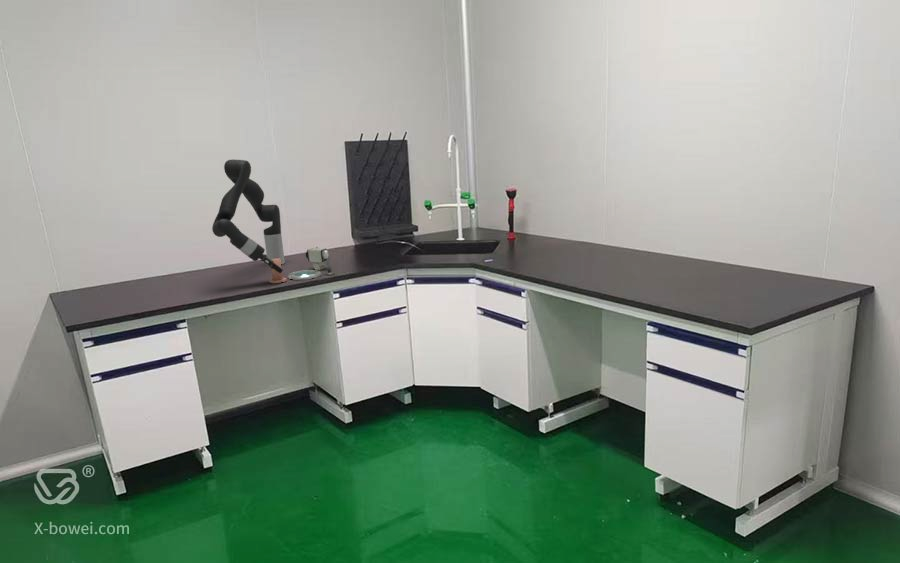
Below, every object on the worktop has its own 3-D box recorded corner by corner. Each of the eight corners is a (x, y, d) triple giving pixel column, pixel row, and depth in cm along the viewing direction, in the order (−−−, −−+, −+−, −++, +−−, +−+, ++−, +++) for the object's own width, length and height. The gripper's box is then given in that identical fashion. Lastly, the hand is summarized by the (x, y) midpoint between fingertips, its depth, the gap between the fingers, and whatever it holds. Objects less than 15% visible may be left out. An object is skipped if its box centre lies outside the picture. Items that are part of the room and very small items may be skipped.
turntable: (282, 277, 291) (282, 273, 291) (311, 271, 301) (311, 268, 300) (296, 282, 279) (296, 278, 279) (326, 275, 289) (326, 272, 288)
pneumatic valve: (326, 270, 300) (323, 248, 297) (307, 270, 304) (304, 247, 301) (331, 268, 305) (329, 246, 302) (313, 267, 309) (310, 245, 306)
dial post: (323, 274, 292) (321, 249, 289) (331, 272, 295) (329, 248, 292) (328, 275, 289) (325, 250, 286) (335, 274, 292) (333, 249, 289)
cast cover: (266, 281, 282) (264, 259, 279) (282, 278, 287) (279, 256, 284) (273, 284, 276) (270, 262, 273) (289, 281, 281) (286, 259, 278)
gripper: (258, 245, 267) (288, 267, 275) (255, 241, 280) (283, 262, 288) (248, 258, 266) (278, 279, 274) (245, 253, 279) (273, 273, 287)
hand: (280, 270), depth 281 cm, fingers closed on cast cover, 4 cm apart
